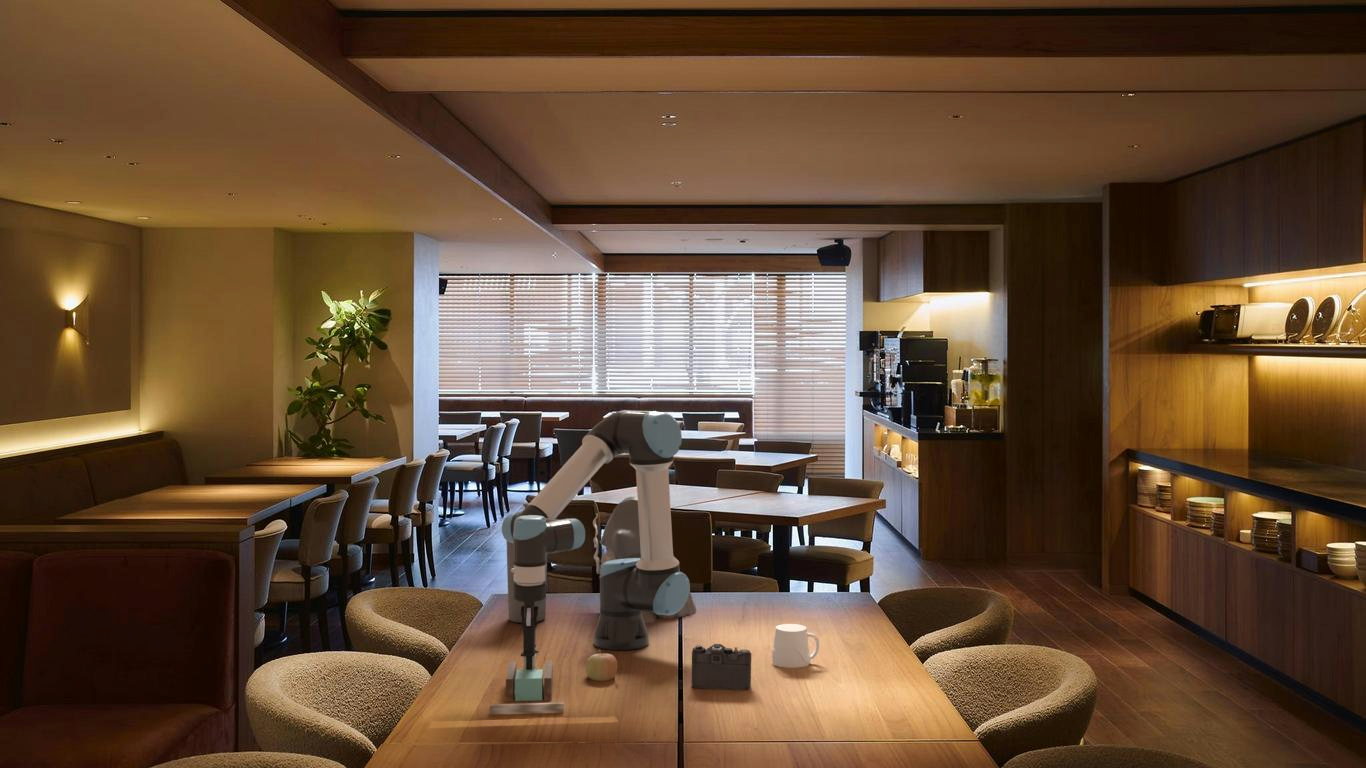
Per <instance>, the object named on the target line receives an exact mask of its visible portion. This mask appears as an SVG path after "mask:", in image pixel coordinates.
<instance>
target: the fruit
mask: <svg viewBox="0 0 1366 768" xmlns="http://www.w3.org/2000/svg"><path fill="white" fill-rule="evenodd" d="M598 651H599V652H600V653H595V654H592V655H590V657H588V659H587V661H586V664H585V671H586V674H587V677H588V678H589V679H590V680H592V681H595V682H597V681H599V682H604V681H610V680H613V679H614V678H615V676H616V674H617V672H618V661H617V658H616V657H615V656H614V654H611V653H602V651H601V648H599V649H598Z"/></svg>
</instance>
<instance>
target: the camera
mask: <svg viewBox="0 0 1366 768" xmlns="http://www.w3.org/2000/svg"><path fill="white" fill-rule="evenodd" d="M733 648H734V649H733ZM733 648H730V647H726V646H724V645H723V644H722V643H714V644H712V645H711V646H709V647H708V648H705V647H703V645H698V644H697V645H695V647H693V648H692V651H691V687H692V688H694V689H705V690H706V689H708V690H728V691H731V690H732V691H749V690H751V687H752V682H751V681H752V653H751V650H749V649H739V650H738V647H733Z"/></svg>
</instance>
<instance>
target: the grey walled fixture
mask: <svg viewBox="0 0 1366 768" xmlns="http://www.w3.org/2000/svg"><path fill="white" fill-rule="evenodd" d="M517 664H518V663H517V661H509V664H508V668H507V672H506V677H505V701H506V702H513V701H514V700H515V699H514V698H515V678H516V672H517V670H518V669H517ZM553 665H554V661H553V660H546V661H545V665H544V666H545V667H544V675H543V695H544V697H543V698H544V699H543V700H544V701H550V700H551V701H552V697H553V696H552V695H553V683H554V681H553V679H554V677H553V676H554V674H553V671H554V666H553ZM564 705H565V703H564V701H563V702H561V701H560V702H529V703H525V702H523V703H497V704H496V703H495V704H490V703H489V716H493V715H495V716H496V715H499V716H500V715H522V714H524V715H529V714H531V715H532V714H556V713H557V714H560V713H561V714H563V713H564V712H565V709H564V708H565V707H564ZM553 718H554V719H555V718H560V717H554V716H553ZM520 719H522V720H524V719H526V718H523V717H522V718H520ZM490 720H493V719H490Z"/></svg>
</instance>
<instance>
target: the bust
mask: <svg viewBox="0 0 1366 768" xmlns="http://www.w3.org/2000/svg"><path fill="white" fill-rule="evenodd" d="M597 518H598V514H596V517H595V518H594V519H593V521H592V526H593V527H594V529H595V536H594V537H593V541H592V542H593V544H594V545H593V546H594V548H595V549H596V550H595V553H594V554H593V559H594V560H595V563H596V574H598V575H600V569H601V565H602V564H603V563H604V562H607V561H611V560H617V559H626V558H640V559H641V548H640V531H639V514H638V497H637V496H629V497H626V498H624V499H623V500H622V501H620V502H619V503H618V504H617V505H616V506H615V507H614V509H613V511H612V513H611V515H610V517H609V519H608V520H607V523H606V525H605V527H604V530H603V533H602V537H601V539H600V540H598V538H597V536H598V535H599V532H598V525H597V521H596V519H597ZM599 543H600V544H601V545H602V546H603V547H605V550H606V551H605V552H604V554H603V555H602V557H601V559H600V557H598V554H599ZM600 563H601V565H600ZM696 612H697V608H696V605H695V603H694V600H693V596H692V594H691V591H689V596H688V599H687V601H686V603H685V604H684V606H683V608H682V609H681V610H680V611H679V612H677V613H676V614H673V615H658V614H656V613H651V612H647V611H642V615H643V619H644V622H645V624H649V623H650V624H651V623H654V622H655V621H656V619H657V618H660V619H667V620H668V619H670V620H671V619H674V618H682V617H685V616H690V615H693V614H696Z"/></svg>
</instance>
